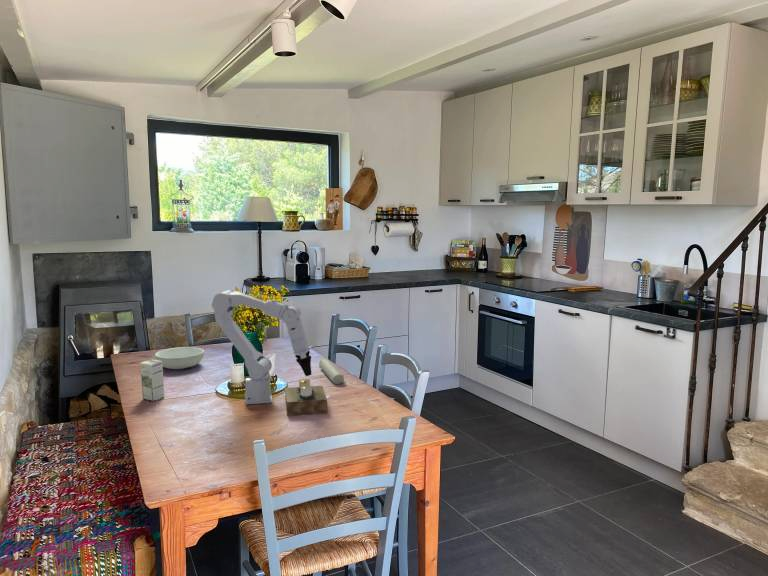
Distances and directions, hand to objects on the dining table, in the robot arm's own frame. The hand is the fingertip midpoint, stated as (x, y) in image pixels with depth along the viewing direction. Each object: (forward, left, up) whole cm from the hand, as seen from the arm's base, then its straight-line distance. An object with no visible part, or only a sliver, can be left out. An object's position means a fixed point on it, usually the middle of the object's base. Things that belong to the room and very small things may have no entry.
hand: (308, 373), depth 215 cm
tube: (+12, +30, -12) cm, 35 cm away
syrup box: (-57, +15, -11) cm, 60 cm away
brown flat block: (-1, -5, -11) cm, 12 cm away
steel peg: (-1, -9, -8) cm, 12 cm away
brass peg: (-1, -1, -8) cm, 8 cm away
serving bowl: (-53, +58, -12) cm, 80 cm away
